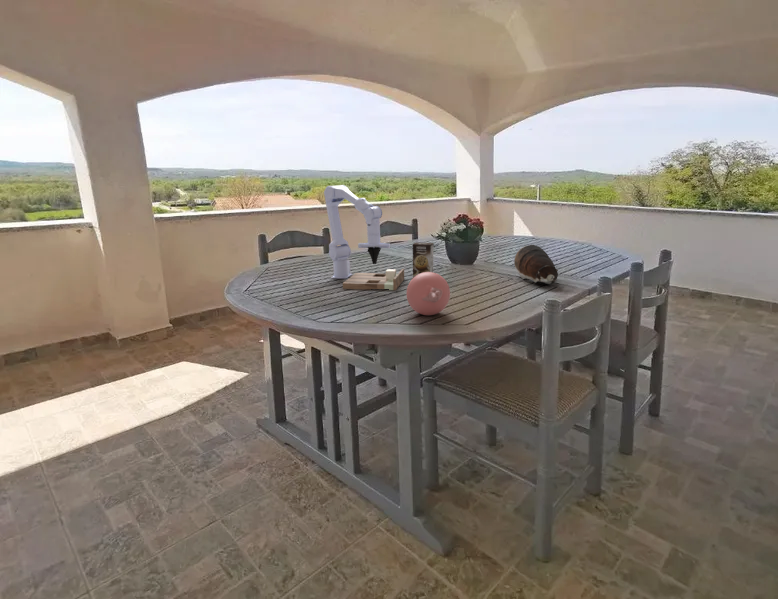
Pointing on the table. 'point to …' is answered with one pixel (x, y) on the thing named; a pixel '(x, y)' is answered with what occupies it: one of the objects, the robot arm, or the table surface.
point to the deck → (373, 281)
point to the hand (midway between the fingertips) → (374, 263)
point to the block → (390, 274)
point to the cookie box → (422, 258)
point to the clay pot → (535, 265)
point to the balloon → (428, 293)
